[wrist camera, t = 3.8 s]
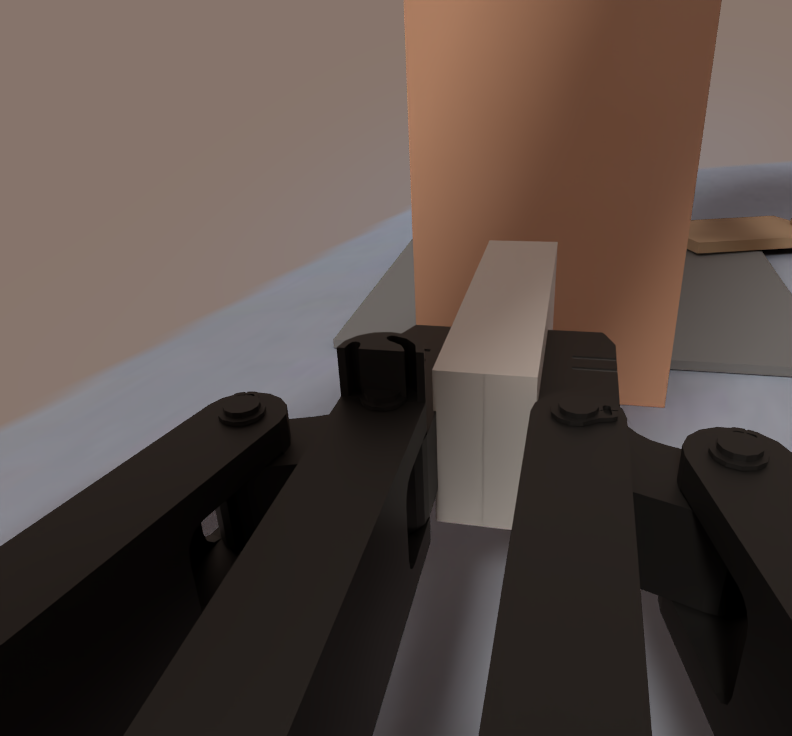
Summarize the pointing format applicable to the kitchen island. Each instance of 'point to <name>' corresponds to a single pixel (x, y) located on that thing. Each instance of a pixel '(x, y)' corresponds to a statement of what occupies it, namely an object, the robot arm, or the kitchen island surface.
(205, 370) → the kitchen island surface
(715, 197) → the kitchen island surface
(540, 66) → the tile
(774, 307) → the mat
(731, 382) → the kitchen island surface
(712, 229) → the wooden turner
